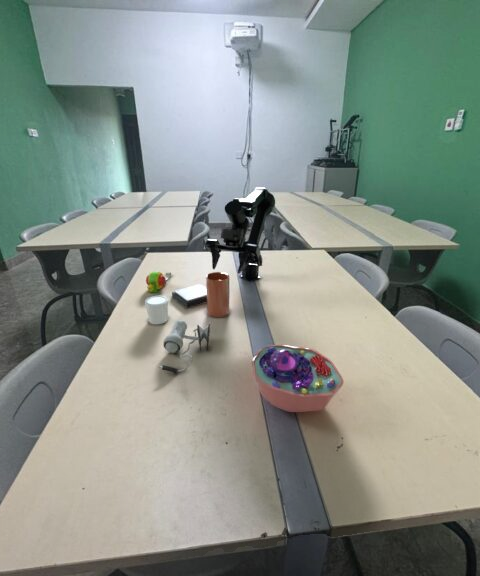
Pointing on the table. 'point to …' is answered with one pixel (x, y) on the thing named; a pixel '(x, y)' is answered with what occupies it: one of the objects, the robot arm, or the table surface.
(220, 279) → the cup
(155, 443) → the table surface
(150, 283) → the toy measuring tape
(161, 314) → the white cylinder
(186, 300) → the scale
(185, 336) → the clip-on lamp
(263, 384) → the cell model
